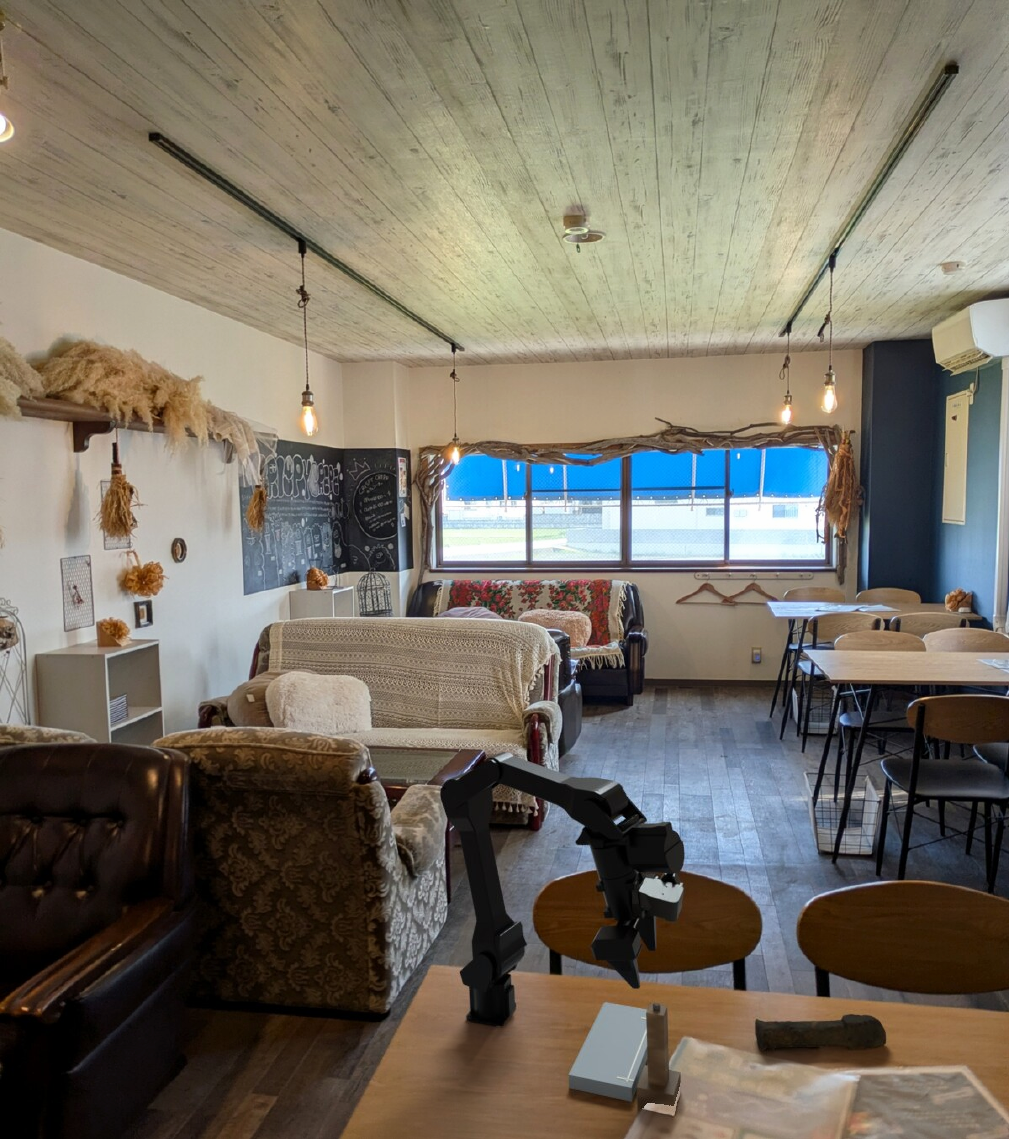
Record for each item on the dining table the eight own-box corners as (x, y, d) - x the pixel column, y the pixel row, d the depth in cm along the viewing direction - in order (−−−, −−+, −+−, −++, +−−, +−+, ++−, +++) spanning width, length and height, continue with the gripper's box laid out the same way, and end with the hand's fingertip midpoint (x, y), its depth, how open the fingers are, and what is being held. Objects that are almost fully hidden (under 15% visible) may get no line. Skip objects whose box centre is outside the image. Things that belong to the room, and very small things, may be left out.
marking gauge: (637, 1108, 118) (634, 1011, 117) (645, 1085, 123) (642, 992, 122) (674, 1116, 116) (671, 1018, 115) (681, 1092, 121) (678, 998, 120)
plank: (569, 1087, 123) (568, 1073, 123) (604, 1013, 140) (604, 1001, 140) (631, 1101, 119) (631, 1087, 119) (660, 1024, 137) (659, 1011, 137)
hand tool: (759, 1055, 129) (758, 1025, 128) (753, 1039, 133) (753, 1009, 132) (892, 1058, 127) (891, 1028, 126) (882, 1041, 131) (882, 1012, 130)
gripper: (653, 901, 115) (684, 1009, 116) (684, 835, 131) (710, 931, 132) (576, 904, 119) (606, 1009, 121) (615, 841, 136) (641, 933, 137)
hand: (644, 968), depth 128 cm, fingers open, 9 cm apart
